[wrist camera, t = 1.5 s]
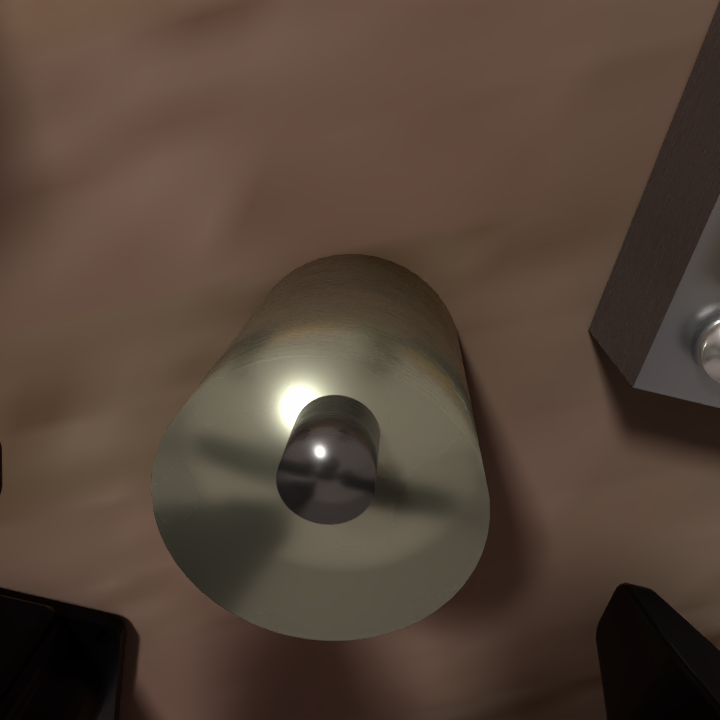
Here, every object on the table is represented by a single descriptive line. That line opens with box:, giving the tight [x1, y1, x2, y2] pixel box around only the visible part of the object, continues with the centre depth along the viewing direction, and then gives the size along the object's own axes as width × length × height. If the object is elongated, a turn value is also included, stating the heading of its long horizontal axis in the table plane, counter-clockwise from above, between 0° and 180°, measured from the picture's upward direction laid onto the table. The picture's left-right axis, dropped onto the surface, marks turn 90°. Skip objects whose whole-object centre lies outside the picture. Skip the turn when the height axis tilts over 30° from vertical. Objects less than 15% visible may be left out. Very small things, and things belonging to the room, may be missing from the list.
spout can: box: [151, 254, 490, 641], centre depth 11 cm, size 5×5×7 cm
